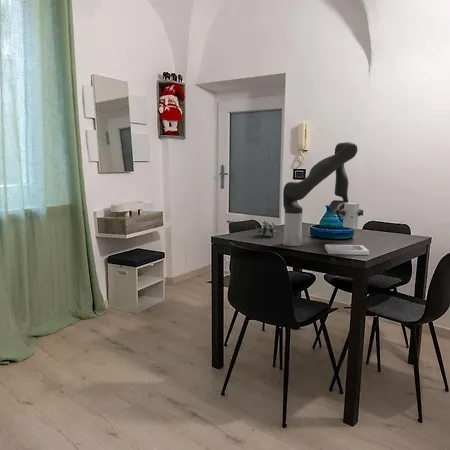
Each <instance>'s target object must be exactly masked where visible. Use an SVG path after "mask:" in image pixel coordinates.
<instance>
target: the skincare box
mask: <svg viewBox="0 0 450 450" xmlns="http://www.w3.org/2000/svg"><path fill="white" fill-rule="evenodd" d="M359 209H360V203H355V202H349V203H345V204H344V211H345V216H344V217H342V218H343V220H342V227H343V228H347V229H357V228H358V224H359V223H358V221H359V216H358V213H359Z"/></svg>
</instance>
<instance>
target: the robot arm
mask: <svg viewBox="0 0 450 450" xmlns="http://www.w3.org/2000/svg"><path fill="white" fill-rule="evenodd" d="M357 153H358V146H357V144H356V143H354V142H351V141H349V142H348V141H345V142H339V143H337V144H336V146H335V147H334V154H333V155H331V156H328V157H326V158H323V159H321V160H319V161H318V162H316V163H315V165H313V166H312V167H311V168H310V171H309V172H308V173H309V174H308V175H307V176H306V177H305V178H304V179H302V180H301V181H298V182H297V181H289V182H286V184H284V187H283V193H282V199H283V200H282V203H283V208H284V225H283V246H287V247H299V246H302V236H303V235H302V234H303V232H302V231H303V207H302V206H301V205H300V204H299V203H298V201H300V200H303V199H304V198H305V197H306V196H307V195H308V194H309V193H310V192H311V191H312V190H313V189H314V188H315V187H317V186H318V185H319V184H321V182H323V181H324V180H326V179H327V178H328V177H329V176H330V175H331V174H333V173H334V172H335V185H334V195H335V196H337V197H340V198H341V199H342V200H339V199H337V200H336V199H335V200H332V201H331V202H330V203H329V209H330V211H331V213H334V215H336V216H340V217H342V218H343V217H344V216H345V211H344V204H345V203H350V202H349V198H348V197H349V196H348V193H349V192H348V191H349V179H348V174H347V172H346V168H345V164H346V163H347V162H349V161H350V160H352V159H354V158H355V156H356V155H357ZM361 216H364V209H362V208H359V213H358V217H361Z"/></svg>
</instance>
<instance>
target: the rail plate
mask: <svg viewBox="0 0 450 450" xmlns="http://www.w3.org/2000/svg"><path fill="white" fill-rule="evenodd" d="M324 249H325V250H326V252H327V254H329V255H348V256H349V255H350V256H351V255H354V256H355V255H356V256H357V255H358V256H370V250H369V249H368V248H366V247H365V246H364V245H363V244H362V245H361V244H356V245H355V244H324Z"/></svg>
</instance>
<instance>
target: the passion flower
mask: <svg viewBox="0 0 450 450" xmlns="http://www.w3.org/2000/svg"><path fill="white" fill-rule="evenodd" d="M271 223H272V224H270V222H268V221H266V220H264V219H263V221H262V224H263V226H262V228H258V226H255V230H257V229H258V231H257V233H256V234H260V237H262V235H266V233H267V230H269V232H270V234H271V236H272V238H273V237H275V234H276V231H277V230H276V229H275V228H277V225H276V223H275V222H273V221H271ZM273 226H274V227H275V228H274V227H273Z"/></svg>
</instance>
